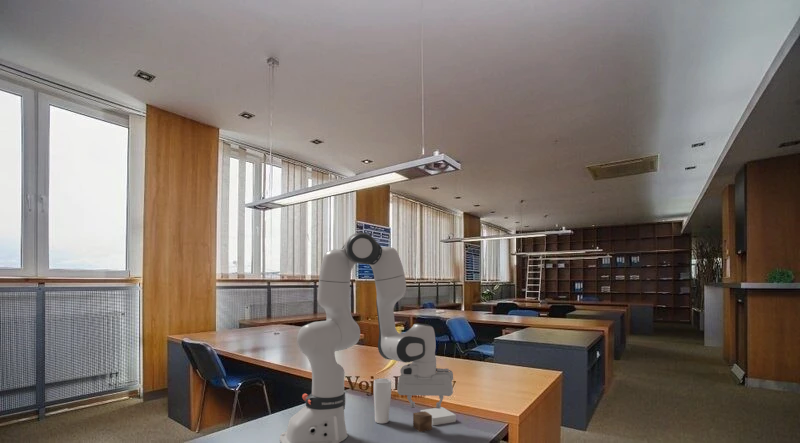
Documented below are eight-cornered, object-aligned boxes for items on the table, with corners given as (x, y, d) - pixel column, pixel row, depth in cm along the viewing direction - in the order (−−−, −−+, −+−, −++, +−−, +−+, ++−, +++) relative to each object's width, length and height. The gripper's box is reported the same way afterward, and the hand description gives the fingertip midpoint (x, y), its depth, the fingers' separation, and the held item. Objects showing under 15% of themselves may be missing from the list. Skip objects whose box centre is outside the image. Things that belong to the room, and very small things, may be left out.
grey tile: (433, 425, 154) (433, 418, 155) (420, 416, 163) (420, 410, 164) (455, 421, 158) (455, 414, 159) (442, 413, 167) (442, 407, 168)
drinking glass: (388, 425, 153) (389, 383, 155) (370, 423, 155) (371, 382, 157) (392, 419, 160) (393, 378, 162) (375, 417, 161) (376, 377, 163)
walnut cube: (419, 432, 148) (419, 417, 148) (413, 427, 152) (413, 413, 153) (431, 430, 150) (431, 415, 151) (425, 425, 154) (425, 411, 155)
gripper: (453, 366, 155) (454, 405, 153) (398, 366, 158) (399, 404, 156) (452, 370, 149) (454, 411, 147) (396, 369, 152) (397, 409, 150)
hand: (425, 407), depth 151 cm, fingers open, 8 cm apart
